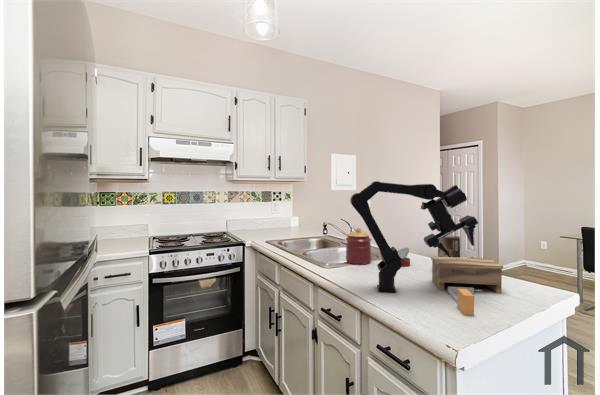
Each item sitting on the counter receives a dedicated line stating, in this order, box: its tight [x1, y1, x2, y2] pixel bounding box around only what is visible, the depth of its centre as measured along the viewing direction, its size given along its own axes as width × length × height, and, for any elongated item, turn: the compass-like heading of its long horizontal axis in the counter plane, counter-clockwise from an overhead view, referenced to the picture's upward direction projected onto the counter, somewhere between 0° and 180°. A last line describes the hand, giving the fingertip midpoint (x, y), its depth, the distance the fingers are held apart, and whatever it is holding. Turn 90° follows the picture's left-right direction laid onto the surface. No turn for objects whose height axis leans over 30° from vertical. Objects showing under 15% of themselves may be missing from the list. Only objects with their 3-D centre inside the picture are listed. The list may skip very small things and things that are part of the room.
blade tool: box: [447, 286, 475, 316], centre depth 100 cm, size 19×9×6 cm, turn 169°
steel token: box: [469, 285, 485, 292], centre depth 113 cm, size 4×4×1 cm
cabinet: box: [430, 256, 504, 294], centre depth 116 cm, size 12×22×10 cm, turn 80°
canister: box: [345, 227, 372, 266], centre depth 154 cm, size 13×13×18 cm
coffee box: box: [437, 235, 461, 258], centre depth 135 cm, size 9×6×16 cm
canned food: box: [397, 247, 411, 268], centre depth 149 cm, size 11×10×10 cm
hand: (461, 251), depth 110 cm, fingers open, 9 cm apart
